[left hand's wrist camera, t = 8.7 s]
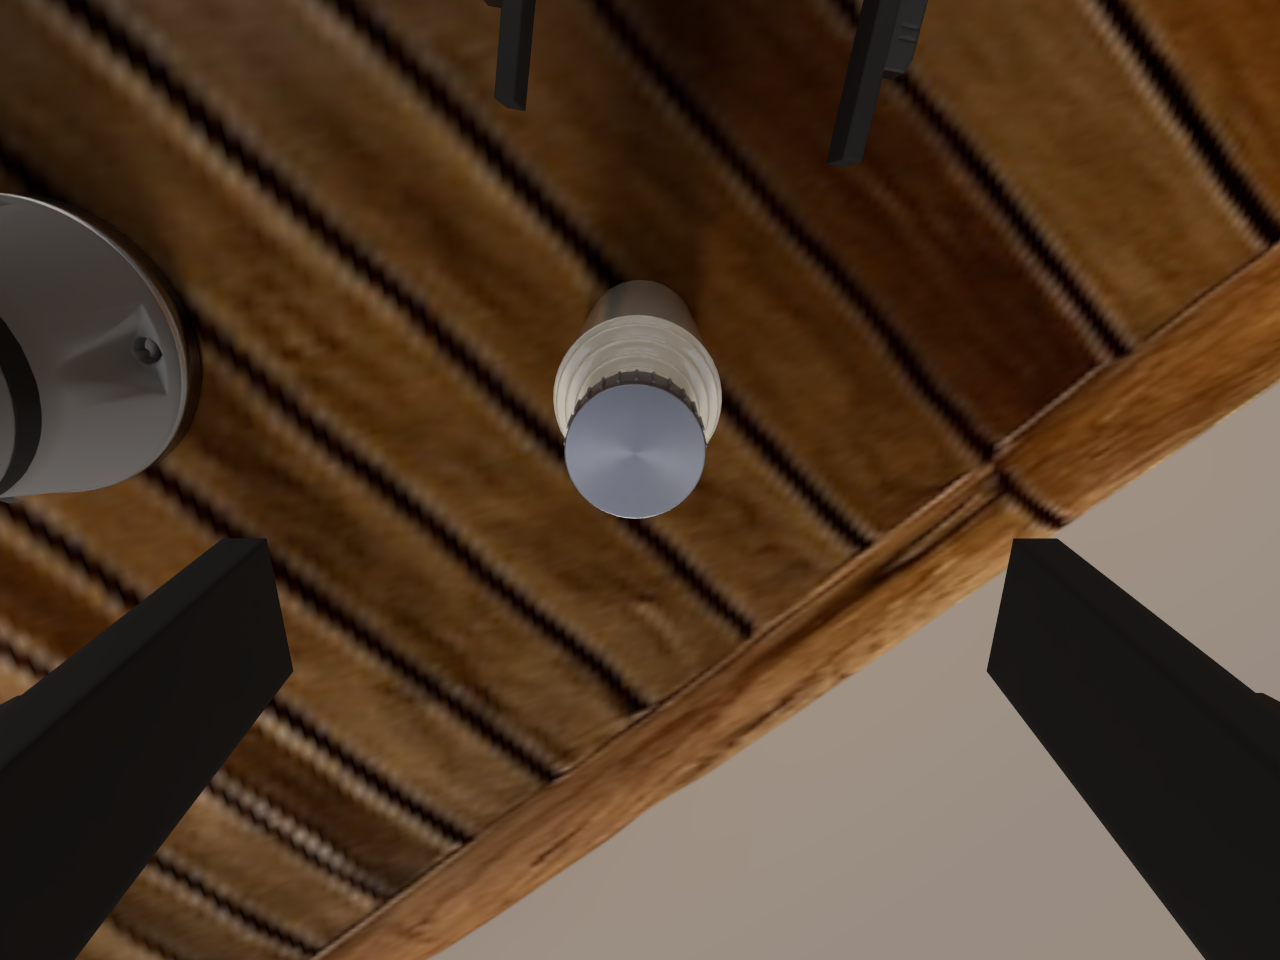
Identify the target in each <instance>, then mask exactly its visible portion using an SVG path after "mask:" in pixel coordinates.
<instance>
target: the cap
mask: <svg viewBox="0 0 1280 960" xmlns="http://www.w3.org/2000/svg"><path fill="white" fill-rule="evenodd" d="M573 412H574V414H571V416H570V419H569V421H568V424H567V427H566V428H568V431H567V434H566V437H565V440H564V445H565V447H564V455H565V463H566V467H567V471H568V473H569V476H570V478H571V480H572V482H573V484H574V486H575V487H576V488H577V490H578V491H579V493H580V494H581V495H582V496H583V497H584V498H585V499H586V500H587V501H589V502H590V503H591V504H592V505H594V506H595V507H597V508H598V509H600V510H602V511H604V512H606V513H609V514H612V515H615V516H619V517H624V518H634V519H635V518H647V517H653V516H656V515H659V514H662V513H664V512H667V511H669V510H671V509H672V508H674V507H676V506H677V505H679V504H680V503H681V502H682V501H684V500H685V499H686V498H687V497H688V496H689V495H690V493H691V492H692V491H693V489H694V488H695V487H696V485H697V483H698V481H699V480H700V477H701V475H702V472H703V469H704V465H705V459H706V447H707V442H706V439H705V435H704V432H703V431H704V430H705V428H704V425H703V421H702V417H701V416H699V415H698V411H697V407H696V404H695V402H694V401H693V402H692V401H691V399H690V398H689V397H688V396H687V394H686V392H685V389H684V388H682V389H681V388H680V387H679V386H677V385H676V384H675V383H673V382H672V379H671V378H669V379H666V378H664V377H662V376H659V375H656V372H652V373H648V372H641V371H638V369H635V371H630V372H623V373H621V371H618V374H615V375H612V376H609V377H607V378H605V377H603V378H602V379H601V381H600V382H598V383H597V384H595V385H594V386H593V387H592V388H591V387H589V388H588V389H587V392H586V394H585V395H584V396H583V397H582V399H581V400H580V399H578V401H577V403H576V406H575V409H574V411H573Z"/></svg>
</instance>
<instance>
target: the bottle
mask: <svg viewBox="0 0 1280 960" xmlns="http://www.w3.org/2000/svg"><path fill="white" fill-rule="evenodd" d="M635 369H638V371H641V372H648V373H652V372H656V375H659V376H662V377H664V378H666V379H669V378H671V379H672V382H673V383H675V384H676V385H677V386H679V387H680V388H681V389H682V388H684V389H685V392H686V394H687V396H688V397H689V398H690V399H691V401H692V402H693V401H694V402H695V404H696V407H697V411H698V415H699V416H701V417H702V421H703V425H704V428H705V430H704V431H703V432H704V435H705V439H706V442H707V443H708V442H709V440H710V439H711V437H712V435H713V433H714V431H715V429H716V426H717V424H718V420H719V416H720V413H721V404H722V390H721V383H720V378H719V375H718V371H717V369H716V366H715V364H714V362H713V360H712V357H711V355H710V353H709V351H708V349H707V347H706V345H705V342H704V340H703V338H702V336H701V334H700V332H699V330H698V327H697V325H696V323H695V321H694V319H693V317H692V315H691V312H690V310H689V308H688V307H687V305H686V304H685V302H684V301H683V300H682V299H681V297H680V296H679V295H678V294H676V293H675V292H674V291H673V290H671V289H670V288H668V287H666V286H664V285H662V284H660V283H657V282H653V281H649V280H633V281H628V282H624V283H621V284H619V285H617V286H615V287H613V288H611V289H610V290H608V291H607V292H606V293H605V294H603V295H602V296H601V297H600V299H599V300H598V301H597V302H596V304H595V305H594V307H593V308H592V310H591V312H590V313H589V315H588V317H587V319H586V320H585V322H584V324H583V325H582V327H581V329H580V330H579V332H578V334H577V336H576V337H575V339H574V341H573V342H572V344H571V346H570V347H569V349H568V351H567V353H566V354H565V356H564V358H563V360H562V362H561V364H560V366H559V369H558V372H557V375H556V379H555V384H554V395H553V401H554V411H555V415H556V419H557V422H558V425H559V428H560V430H561V432H562V434H563V436H564V438H565V437H566V434H567V431H568V428H566V427H567V424H568V421H569V419H570V416H571V414H574V412H573V411H574V409H575V406H576V403H577V401H578V399H580V400H581V399H582V397H583V396H584V395H585V394H586V392H587V389H588V388H589V387H591V388H592V387H593V386H594V385H595V384H597V383H598V382H600V381H601V379H602V378H603V377H605V378H607V377H609V376H612V375H615V374H618V371H621V373H623V372H630V371H635Z"/></svg>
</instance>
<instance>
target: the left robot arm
mask: <svg viewBox="0 0 1280 960" xmlns="http://www.w3.org/2000/svg"><path fill="white" fill-rule="evenodd" d="M200 387H201V366H200V357H199V352H198V347H197V342H196V338H195V335H194V332H193V329H192V326H191V323H190V321H189V318H188V316H187V313H186V311H185V309H184V307H183V305H182V303H181V301H180V299H179V298H178V296H177V294H176V293H175V291H174V290H173V288H172V286H171V285H170V283H169V282H168V281H167V279H166V278H165V276H164V275H163V274H162V272H161V271H160V270H159V269H158V268H157V266H156V265H155V264H154V263H153V262H152V260H151V259H150V258H149V257H148V256H147V255H146V254H145V253H144V252H143V251H142V250H141V249H140V248H139V247H138V246H136V245H135V244H134V243H133V242H132V241H131V240H129V239H128V238H127V237H126V236H125V235H123V234H122V233H121V232H119V231H118V230H117V229H115V228H114V227H112V226H111V225H109V224H108V223H106V222H104V221H103V220H101V219H100V218H98V217H96V216H94V215H92V214H90V213H88V212H86V211H84V210H82V209H80V208H78V207H75V206H73V205H70V204H68V203H65V202H61V201H58V200H55V199H52V198H47V197H43V196H38V195H30V194H22V193H0V501H3V502H6V503H16V502H24V501H22V500H18V499H15V498H12V497H15V496H26V495H36V494H45V493H56V492H81V491H88V490H95V489H100V488H105V487H108V486H112V485H115V484H118V483H120V482H122V481H125V480H127V479H129V478H131V477H133V476H135V475H137V474H139V473H141V472H143V471H145V470H147V469H149V468H150V467H152V466H154V465H156V464H157V463H159V462H160V461H161V460H163V459H164V458H165V457H167V456H168V455H169V454H170V453H171V452H172V451H173V450H174V449H175V448H176V447H177V445H178V444H179V443H180V442H181V441H182V439H183V437H184V436H185V434H186V433H187V431H188V429H189V427H190V425H191V423H192V421H193V419H194V416H195V413H196V410H197V406H198V401H199V397H200ZM292 672H293V667H292V662H291V657H290V652H289V647H288V642H287V638H286V633H285V628H284V623H283V618H282V613H281V608H280V603H279V598H278V593H277V588H276V583H275V578H274V573H273V568H272V563H271V559H270V554H269V549H268V544H267V539H222V540H220V541H219V542H218V543H216V544H215V545H214V546H213V547H211V548H210V549H209V550H207V551H206V552H205V553H204V554H202V555H201V556H200V557H198V558H197V559H196V560H195V561H193V562H192V563H191V564H189V565H188V566H187V567H186V568H184V569H183V570H182V571H180V572H179V573H178V574H177V575H175V576H174V577H173V578H171V579H170V580H169V581H168V582H166V583H165V584H164V585H162V586H161V587H160V588H159V589H157V590H156V591H155V592H153V593H152V594H151V595H150V596H148V597H147V598H146V599H144V600H143V601H142V602H141V603H139V604H138V605H137V606H135V607H134V608H133V609H132V610H130V611H129V612H128V613H126V614H125V615H124V616H123V617H121V618H120V619H119V620H117V621H116V622H115V623H114V624H112V625H111V626H110V627H108V628H107V629H106V630H105V631H103V632H102V633H101V634H99V635H98V636H97V637H96V638H94V639H93V640H92V641H91V642H89V643H88V644H87V645H85V646H84V647H83V648H82V649H80V650H79V651H78V652H76V653H75V654H74V655H73V656H71V657H70V658H69V659H67V660H66V661H65V662H64V663H62V664H61V665H60V666H58V667H57V668H56V669H55V670H53V671H52V672H51V673H49V674H48V675H47V676H46V677H44V678H43V679H42V680H40V681H39V682H38V683H37V684H35V685H34V686H33V687H31V688H30V689H29V690H28V691H26V692H25V693H24V694H22V695H21V696H16V697H14V698H13V699H11V700H9V701H7V702H5V703H3V704H1V705H0V960H75V958H76V957H77V956H78V954H79V953H80V952H81V950H82V949H83V948H84V946H85V945H86V944H87V943H88V941H89V940H90V939H91V937H92V936H93V935H94V933H95V932H96V931H97V929H98V928H99V927H100V925H101V924H102V923H103V921H104V920H105V919H106V917H107V916H108V915H109V914H110V912H111V911H112V910H113V908H114V907H115V906H116V904H117V903H118V902H119V900H120V899H121V898H122V896H123V895H124V894H125V892H126V891H127V890H128V888H129V887H130V886H131V885H132V883H133V882H134V881H135V879H136V878H137V877H138V875H139V874H140V873H141V871H142V870H143V869H144V867H145V866H146V865H147V863H148V862H149V861H150V859H151V858H152V857H153V855H154V854H155V853H156V852H157V850H158V849H159V848H160V846H161V845H162V844H163V842H164V841H165V840H166V838H167V837H168V836H169V834H170V833H171V832H172V830H173V829H174V828H175V826H176V825H177V824H178V823H179V821H180V820H181V819H182V817H183V816H184V815H185V813H186V812H187V811H188V809H189V808H190V807H191V805H192V804H193V803H194V801H195V800H196V799H197V797H198V796H199V795H200V794H201V792H202V791H203V790H204V788H205V787H206V786H207V784H208V783H209V782H210V780H211V779H212V778H213V776H214V775H215V774H216V772H217V771H218V770H219V768H220V767H221V766H222V764H223V763H224V762H225V761H226V759H227V758H228V757H229V755H230V754H231V753H232V751H233V750H234V749H235V747H236V746H237V745H238V743H239V742H240V741H241V739H242V738H243V737H244V735H245V734H246V733H247V732H248V730H249V729H250V728H251V726H252V725H253V724H254V722H255V721H256V720H257V718H258V717H259V716H260V714H261V713H262V712H263V710H264V709H265V708H266V706H267V705H268V704H269V703H270V701H271V700H272V699H273V697H274V696H275V695H276V693H277V692H278V691H279V689H280V688H281V687H282V685H283V684H284V683H285V681H286V680H287V679H288V677H289V676H290V675H291V674H292ZM987 672H988V673H989V675H990V676H991V677H992V679H993V680H994V681H995V683H996V684H997V685H998V687H999V688H1000V689H1001V691H1002V692H1003V693H1004V694H1005V696H1006V697H1007V698H1008V700H1009V701H1010V702H1011V704H1012V705H1013V706H1014V708H1015V709H1016V710H1017V712H1018V713H1019V714H1020V716H1021V717H1022V718H1023V720H1024V721H1025V722H1026V724H1027V725H1028V726H1029V728H1030V729H1031V730H1032V732H1033V733H1034V734H1035V735H1036V737H1037V738H1038V739H1039V741H1040V742H1041V743H1042V745H1043V746H1044V747H1045V749H1046V750H1047V751H1048V752H1049V754H1050V755H1051V757H1052V758H1053V759H1054V760H1055V762H1056V763H1057V764H1058V766H1059V767H1060V768H1061V770H1062V771H1063V772H1064V774H1065V775H1066V776H1067V778H1068V779H1069V780H1070V782H1071V783H1072V784H1073V785H1074V787H1075V788H1076V790H1077V791H1078V792H1079V793H1080V795H1081V796H1082V797H1083V799H1084V800H1085V801H1086V803H1087V804H1088V805H1089V807H1090V808H1091V809H1092V811H1093V812H1094V813H1095V815H1096V816H1097V817H1098V819H1099V820H1100V821H1101V823H1102V824H1103V825H1104V826H1105V828H1106V829H1107V830H1108V832H1109V833H1110V834H1111V836H1112V837H1113V838H1114V840H1115V841H1116V842H1117V844H1118V845H1119V846H1120V848H1121V849H1122V850H1123V852H1124V853H1125V854H1126V855H1127V857H1128V858H1129V859H1130V861H1131V862H1132V863H1133V865H1134V866H1135V867H1136V869H1137V870H1138V871H1139V873H1140V874H1141V875H1142V877H1143V878H1144V879H1145V881H1146V882H1147V883H1148V884H1149V886H1150V887H1151V888H1152V890H1153V891H1154V892H1155V894H1156V895H1157V896H1158V898H1159V899H1160V900H1161V902H1162V903H1163V904H1164V905H1165V907H1166V908H1167V909H1168V911H1169V912H1170V914H1171V915H1172V916H1173V917H1174V919H1175V920H1176V921H1177V923H1178V924H1179V925H1180V927H1181V928H1182V929H1183V931H1184V932H1185V933H1186V935H1187V936H1188V937H1189V939H1190V940H1191V941H1192V943H1193V944H1194V945H1195V946H1196V948H1197V949H1198V950H1199V952H1200V953H1201V954H1202V956H1203V957H1204V958H1205V960H1280V702H1279V701H1277V700H1275V699H1273V698H1271V697H1269V696H1267V695H1266V694H1264V693H1255V692H1254V691H1252V690H1251V689H1250V688H1249V687H1247V686H1246V685H1245V684H1243V683H1242V682H1241V681H1240V680H1238V679H1237V678H1236V677H1234V676H1233V675H1232V674H1231V673H1229V672H1228V671H1227V670H1225V669H1224V668H1223V667H1222V666H1220V665H1219V664H1218V663H1216V662H1215V661H1214V660H1213V659H1211V658H1210V657H1209V656H1208V655H1206V654H1205V653H1204V652H1202V651H1201V650H1200V649H1199V648H1197V647H1196V646H1195V645H1193V644H1192V643H1191V642H1189V641H1188V640H1187V639H1186V638H1184V637H1183V636H1182V635H1180V634H1179V633H1178V632H1177V631H1175V630H1174V629H1173V628H1172V627H1170V626H1169V625H1168V624H1166V623H1165V622H1164V621H1163V620H1161V619H1160V618H1159V617H1157V616H1156V615H1155V614H1154V613H1152V612H1151V611H1150V610H1148V609H1147V608H1146V607H1145V606H1143V605H1142V604H1141V603H1139V602H1138V601H1137V600H1136V599H1134V598H1133V597H1132V596H1130V595H1129V594H1128V593H1126V592H1125V591H1124V590H1123V589H1121V588H1120V587H1119V586H1118V585H1116V584H1115V583H1114V582H1112V581H1111V580H1110V579H1109V578H1107V577H1106V576H1105V575H1103V574H1102V573H1101V572H1100V571H1098V570H1097V569H1096V568H1094V567H1093V566H1092V565H1091V564H1089V563H1088V562H1087V561H1085V560H1084V559H1083V558H1082V557H1080V556H1079V555H1078V554H1076V553H1075V552H1074V551H1073V550H1071V549H1070V548H1069V547H1067V546H1066V545H1065V544H1064V543H1062V542H1061V541H1060V540H1058V539H1013V544H1012V549H1011V554H1010V559H1009V564H1008V568H1007V573H1006V578H1005V583H1004V588H1003V593H1002V598H1001V603H1000V608H999V613H998V618H997V623H996V628H995V633H994V638H993V643H992V647H991V653H990V657H989V662H988V667H987Z"/></svg>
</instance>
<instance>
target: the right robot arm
mask: <svg viewBox="0 0 1280 960" xmlns="http://www.w3.org/2000/svg"><path fill="white" fill-rule="evenodd" d="M484 1H485V2H486V4H487V5H488V6H493V7H498V8H501V19H500V32H499V45H498V57H497V70H496V83H495V95H494V98H495V99H497V100H498V101H499V102H500V103H502V104H503V105H504V106H506V107H507V108H511V109H516V110H522V111H525V108H526V97H527V87H528V76H529V65H530V54H531V43H532V33H533V22H534V11H535V0H484ZM927 2H928V0H864V1H863V6H862V10H861V14H860V19H859V23H858V27H857V32H856V36H855V40H854V45H853V49H852V53H851V58H850V62H849V66H848V71H847V75H846V80H845V84H844V88H843V93H842V97H841V101H840V106H839V110H838V114H837V119H836V123H835V127H834V132H833V136H832V141H831V145H830V149H829V154H828V158H827V162H826V164H829V165H834V166H840V167H846V166H850V165H853V164H857V163H861V162H862V158H863V153H864V149H865V145H866V141H867V137H868V133H869V129H870V125H871V121H872V117H873V113H874V109H875V105H876V100H877V96H878V92H879V88H880V84H881V80H882V78H886V79H891V80H892V79H894V78H896V77H898V76H900V75H901V74H903V73H904V72H905V71H906V69H907V67H908V66H909V64H910V63H911V61H912V60H913V56H914V52H915V49H916V45H917V40H918V37H919V33H920V28H921V25H922V21H923V17H924V13H925V10H926V6H927Z"/></svg>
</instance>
